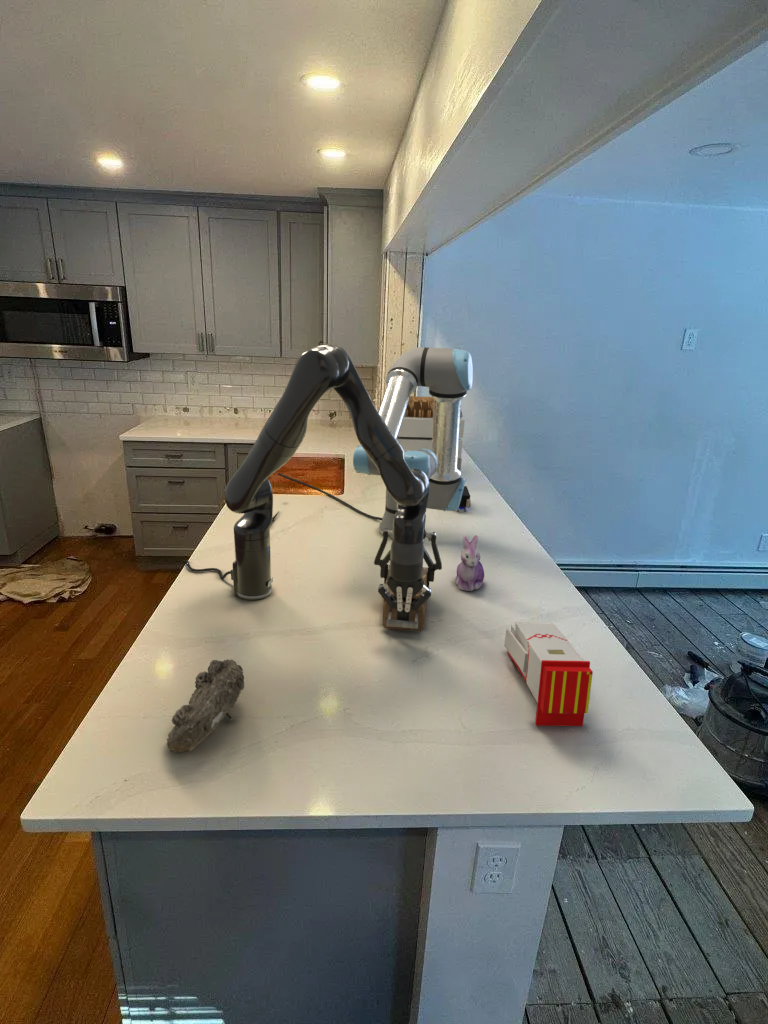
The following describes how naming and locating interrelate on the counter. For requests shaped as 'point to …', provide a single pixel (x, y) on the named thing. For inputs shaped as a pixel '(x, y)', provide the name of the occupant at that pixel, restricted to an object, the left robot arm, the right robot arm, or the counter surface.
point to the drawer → (412, 624)
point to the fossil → (206, 705)
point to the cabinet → (424, 578)
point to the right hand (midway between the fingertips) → (406, 590)
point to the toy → (551, 672)
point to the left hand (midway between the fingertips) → (402, 623)
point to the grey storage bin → (422, 427)
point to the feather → (274, 517)
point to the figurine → (470, 566)
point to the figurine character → (465, 499)
